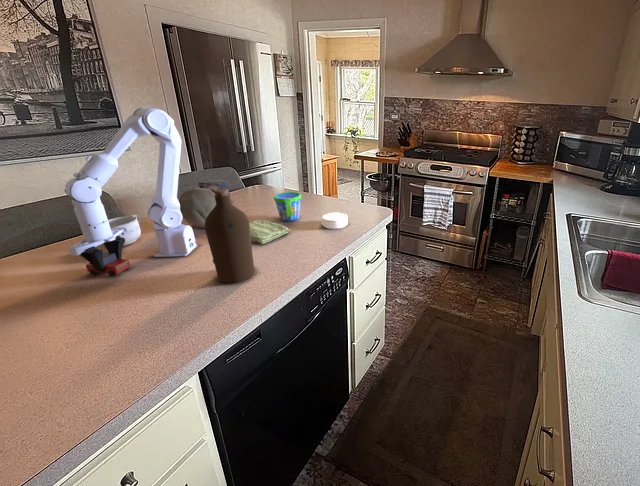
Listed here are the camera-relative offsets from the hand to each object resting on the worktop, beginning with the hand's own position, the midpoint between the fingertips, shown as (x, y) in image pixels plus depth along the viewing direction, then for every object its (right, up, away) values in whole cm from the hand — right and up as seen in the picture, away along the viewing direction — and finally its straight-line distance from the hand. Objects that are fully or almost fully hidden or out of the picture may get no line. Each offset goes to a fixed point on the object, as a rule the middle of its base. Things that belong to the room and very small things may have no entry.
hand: (109, 266), depth 92 cm
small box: (-3, +21, +60) cm, 64 cm away
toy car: (0, -1, +1) cm, 2 cm away
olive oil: (+36, -2, 0) cm, 36 cm away
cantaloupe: (+7, +11, +33) cm, 36 cm away
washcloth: (+32, +8, +27) cm, 42 cm away
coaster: (+57, +11, +37) cm, 69 cm away
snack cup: (+37, +14, +43) cm, 58 cm away
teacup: (-11, +6, +20) cm, 24 cm away
